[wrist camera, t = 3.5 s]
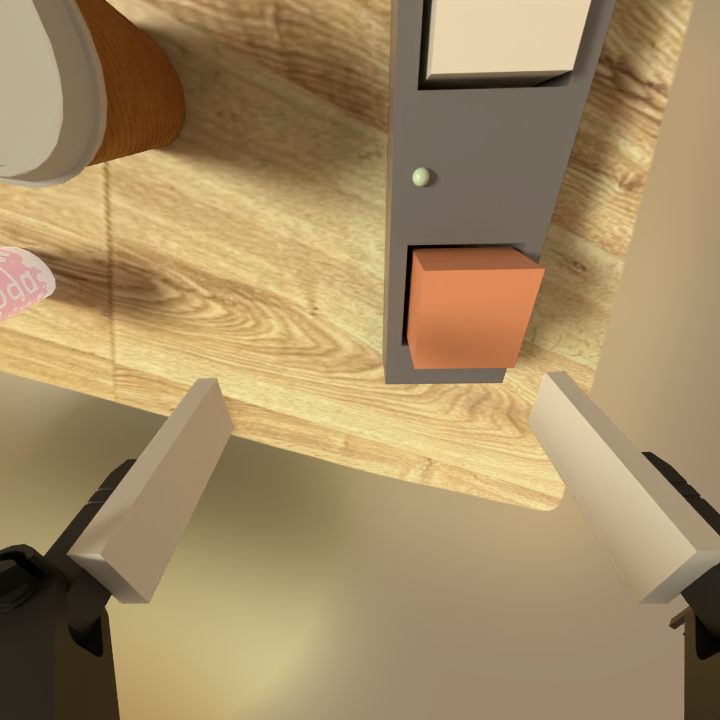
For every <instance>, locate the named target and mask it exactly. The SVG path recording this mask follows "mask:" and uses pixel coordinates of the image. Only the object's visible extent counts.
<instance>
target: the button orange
mask: <svg viewBox="0 0 720 720" xmlns="http://www.w3.org/2000/svg"><path fill="white" fill-rule="evenodd" d="M544 272H545V268H543V267H542V266H540V265H539V264H537V263H535V262H534V261H532V260H531V259H529V258H528V257H526V256H524V255H523V254H521V253H520V252H518V251H517V250H515V249H513V248H512V247H485V248H429V249H412V262H411V276H410V290H409V304H408V318H407V332H406V335H407V340H408V344H409V348H410V352H411V356H412V361H413V365H414V369H452V368H514V367H515V364H516V361H517V358H518V354H519V351H520V348H521V345H522V342H523V338H524V335H525V332H526V329H527V326H528V323H529V319H530V316H531V313H532V310H533V307H534V304H535V300H536V297H537V294H538V291H539V288H540V284H541V281H542V278H543V275H544Z"/></svg>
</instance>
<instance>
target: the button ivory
mask: <svg viewBox="0 0 720 720" xmlns="http://www.w3.org/2000/svg"><path fill="white" fill-rule="evenodd" d="M590 3H591V0H423V11H422V26H421V42H420V58H419V74H418V89H417V91H422V90H458V89H495V88H528V87H531V86H533V85H536V84H538V83H541V82H543V81H546V80H548V79H551V78H553V77H556V76H558V75H561V74H563V73H566V72H568V71H571V70H573V66H574V63H575V59H576V55H577V51H578V48H579V44H580V40H581V36H582V33H583V29H584V25H585V22H586V18H587V14H588V10H589V7H590Z"/></svg>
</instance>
